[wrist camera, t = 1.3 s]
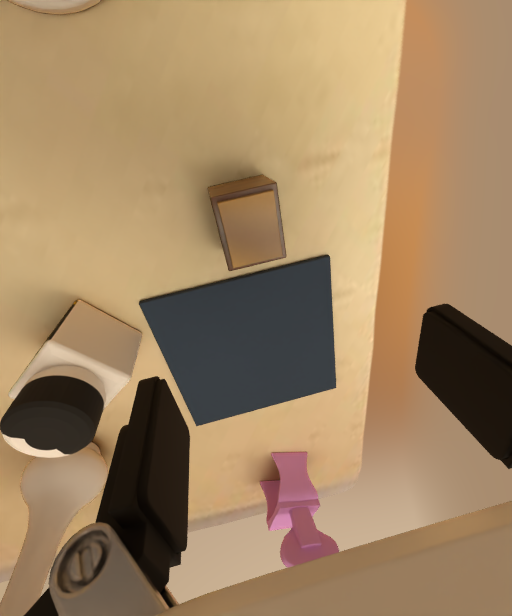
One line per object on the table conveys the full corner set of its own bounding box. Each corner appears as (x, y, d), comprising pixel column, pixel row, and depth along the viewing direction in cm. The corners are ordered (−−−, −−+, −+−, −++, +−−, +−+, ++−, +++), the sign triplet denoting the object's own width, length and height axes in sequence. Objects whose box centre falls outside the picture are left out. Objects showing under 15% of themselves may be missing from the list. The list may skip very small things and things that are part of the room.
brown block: (207, 186, 25) (210, 198, 21) (263, 174, 26) (278, 183, 21) (223, 251, 28) (229, 274, 24) (273, 239, 29) (288, 259, 24)
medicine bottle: (78, 296, 28) (12, 388, 18) (144, 332, 31) (120, 427, 21) (42, 345, 30) (-35, 452, 20) (108, 374, 33) (70, 478, 23)
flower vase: (47, 498, 43) (-96, 855, 22) (-2, 413, 33) (-338, 893, 12) (141, 485, 45) (94, 794, 24) (119, 401, 36) (11, 788, 15)
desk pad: (139, 300, 30) (138, 303, 29) (327, 254, 31) (330, 256, 30) (196, 422, 40) (196, 426, 40) (334, 384, 41) (336, 387, 41)
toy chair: (253, 484, 51) (272, 601, 38) (265, 453, 47) (292, 572, 34) (297, 482, 53) (329, 591, 40) (312, 451, 49) (353, 563, 36)
